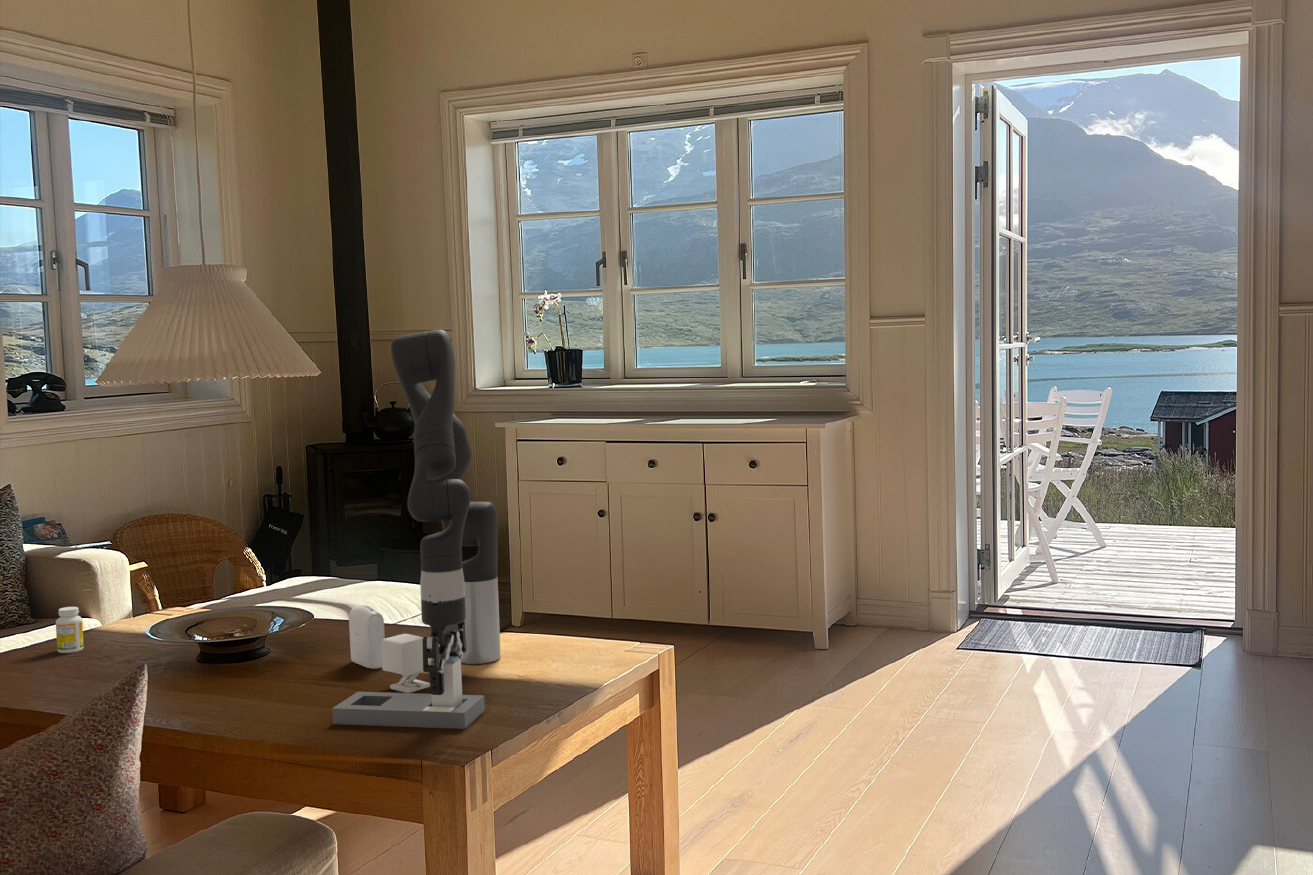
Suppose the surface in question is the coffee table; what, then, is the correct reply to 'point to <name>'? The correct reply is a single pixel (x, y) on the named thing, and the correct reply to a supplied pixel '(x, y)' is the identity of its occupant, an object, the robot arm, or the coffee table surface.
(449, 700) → the plug
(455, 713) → the socket panel
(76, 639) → the supplement bottle
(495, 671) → the coffee table surface
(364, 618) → the photo printer
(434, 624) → the robot arm
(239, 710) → the coffee table surface
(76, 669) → the coffee table surface
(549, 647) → the coffee table surface
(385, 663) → the white cube on bracket
